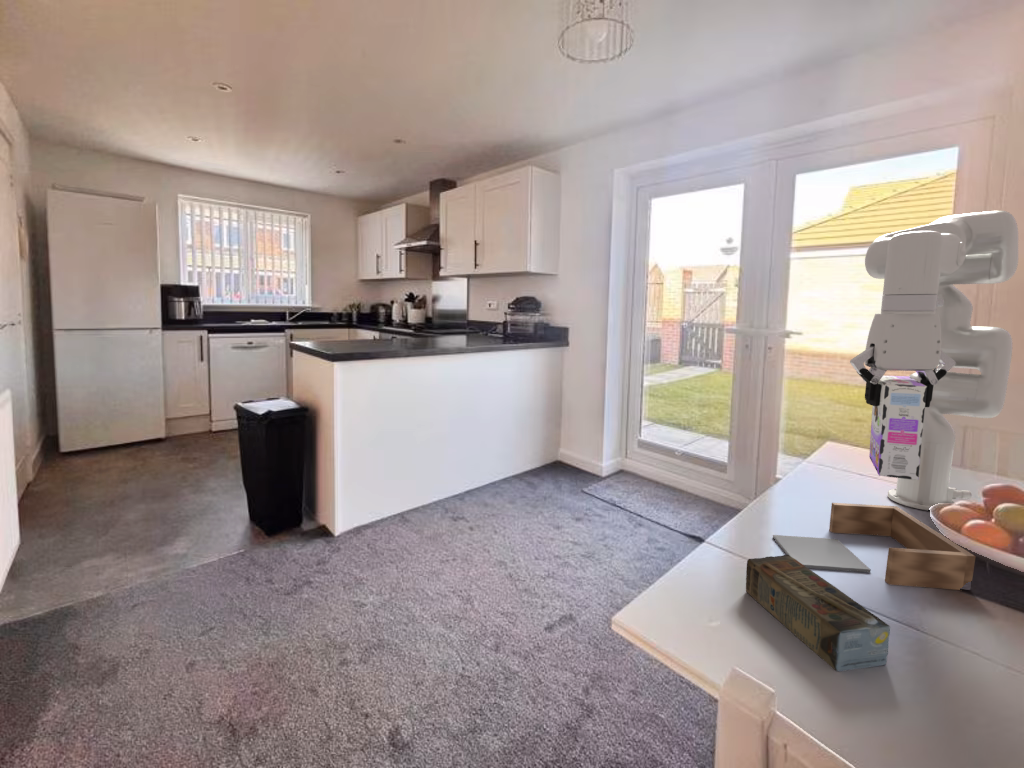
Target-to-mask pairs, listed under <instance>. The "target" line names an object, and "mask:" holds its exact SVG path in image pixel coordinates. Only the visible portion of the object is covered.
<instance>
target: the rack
mask: <svg viewBox="0 0 1024 768" xmlns="http://www.w3.org/2000/svg"><path fill="white" fill-rule="evenodd" d="M830 507H831V510H830V515H829V516H830V517H829V525H828V527H829V528H828V530H829V532H831V533H834V534H835V533H836V534H849V535H852V534H853V535H864V536H865V535H867V536H881V537H891V538H892V539H894V540H895V541H896V542H897V543H899V544H900V545H901V546H902V547H904V548H901V547H888V549H887V550H888V551H887V560H886V566H885V575H884V581H885V583H887V584H888V585H890V586H906V587H917V588H931V589H943V590H957V591H961V590H960V588H962V587H963V586H964V585H965V584H966V583H968V582H971V581H972V582H973V578H974V577H973V576H974V570H975V564H976V563H975V562H976V556H975V555H974V554H973V553H971V552H969V551H968V550H966V549H965V548H963V547H962V546H960V545H958V544H957V543H956V542H954V541H953V540H950V539H949V538H947V537H946V536H944V535H943V534H941V533H939V532H938V531H936V530H935V529H933V528H932V527H930V526H928V525H927V524H925V523H924V522H922V521H921V520H919V519H917V518H916V517H914V516H913V515H911V514H909V513H908V512H906V511H904V510H903V509H902V508H900V507H898V506H895V505H883V504H882V505H878V504H863V503H845V502H844V503H843V502H842V503H841V502H831V506H830Z"/></svg>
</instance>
